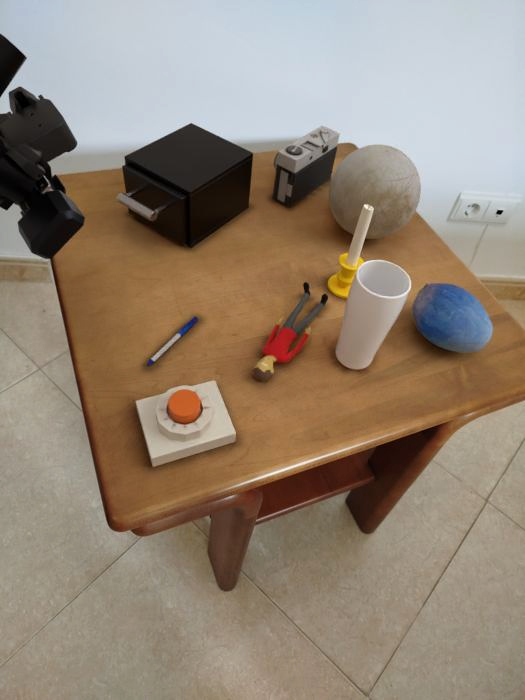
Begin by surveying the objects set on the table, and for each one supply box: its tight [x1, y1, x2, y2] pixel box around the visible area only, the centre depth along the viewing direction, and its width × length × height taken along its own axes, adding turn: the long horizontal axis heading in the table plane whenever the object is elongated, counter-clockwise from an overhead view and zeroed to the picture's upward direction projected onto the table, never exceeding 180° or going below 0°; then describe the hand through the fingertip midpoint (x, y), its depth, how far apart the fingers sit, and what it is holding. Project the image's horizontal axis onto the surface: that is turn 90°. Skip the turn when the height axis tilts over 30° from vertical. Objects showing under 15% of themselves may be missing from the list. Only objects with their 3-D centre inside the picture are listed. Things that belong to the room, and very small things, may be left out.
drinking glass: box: [335, 259, 412, 371], centre depth 63 cm, size 7×7×15 cm
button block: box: [135, 379, 237, 468], centre depth 58 cm, size 10×8×4 cm
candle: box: [327, 203, 374, 299], centre depth 71 cm, size 5×5×16 cm
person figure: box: [252, 281, 329, 382], centre depth 68 cm, size 5×4×18 cm
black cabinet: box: [124, 122, 254, 249], centre depth 82 cm, size 16×14×11 cm
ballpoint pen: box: [146, 316, 199, 366], centre depth 67 cm, size 10×1×1 cm, turn 149°
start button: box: [168, 389, 200, 424], centre depth 56 cm, size 4×4×2 cm
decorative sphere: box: [328, 144, 422, 240], centre depth 81 cm, size 15×15×15 cm
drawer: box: [116, 163, 188, 246], centre depth 80 cm, size 18×12×9 cm
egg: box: [411, 282, 494, 354], centre depth 70 cm, size 9×9×15 cm
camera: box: [272, 125, 341, 209], centre depth 90 cm, size 14×8×10 cm, turn 141°
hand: (79, 216), depth 60 cm, fingers closed
